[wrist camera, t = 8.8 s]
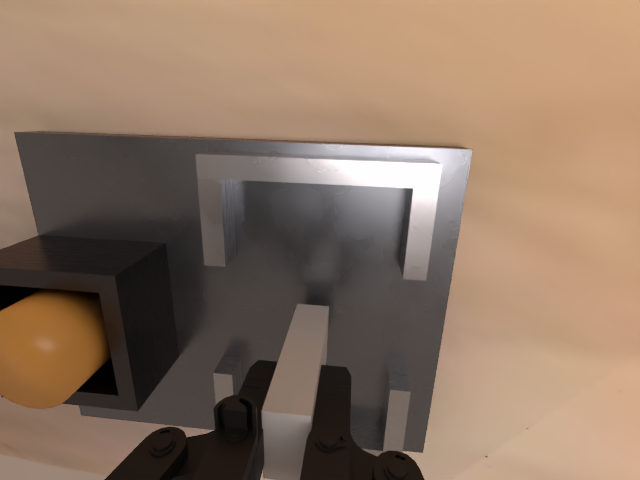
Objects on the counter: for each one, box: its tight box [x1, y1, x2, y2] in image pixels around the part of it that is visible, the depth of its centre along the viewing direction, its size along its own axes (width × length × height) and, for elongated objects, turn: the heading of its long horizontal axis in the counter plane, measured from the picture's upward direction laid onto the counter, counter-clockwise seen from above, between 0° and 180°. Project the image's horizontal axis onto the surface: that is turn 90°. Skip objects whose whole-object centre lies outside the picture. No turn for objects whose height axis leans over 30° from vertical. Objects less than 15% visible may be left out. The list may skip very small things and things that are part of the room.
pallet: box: [0, 131, 472, 456], centre depth 17 cm, size 21×17×6 cm
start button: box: [0, 288, 111, 409], centre depth 15 cm, size 4×4×3 cm
